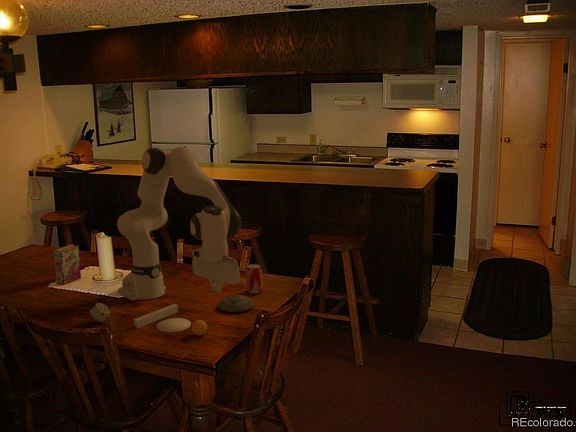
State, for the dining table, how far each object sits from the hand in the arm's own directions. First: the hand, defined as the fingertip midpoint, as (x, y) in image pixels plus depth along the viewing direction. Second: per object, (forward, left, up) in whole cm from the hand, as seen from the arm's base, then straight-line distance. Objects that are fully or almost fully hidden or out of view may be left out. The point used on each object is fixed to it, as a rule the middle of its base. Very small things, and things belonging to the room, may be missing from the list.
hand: (216, 291), depth 207 cm
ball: (-10, 0, -16) cm, 19 cm away
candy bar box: (-105, +5, -19) cm, 107 cm away
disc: (-24, 0, -19) cm, 31 cm away
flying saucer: (-18, +28, -20) cm, 39 cm away
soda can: (-24, +46, -19) cm, 55 cm away
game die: (-50, -15, -19) cm, 56 cm away
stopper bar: (-34, 0, -19) cm, 39 cm away
